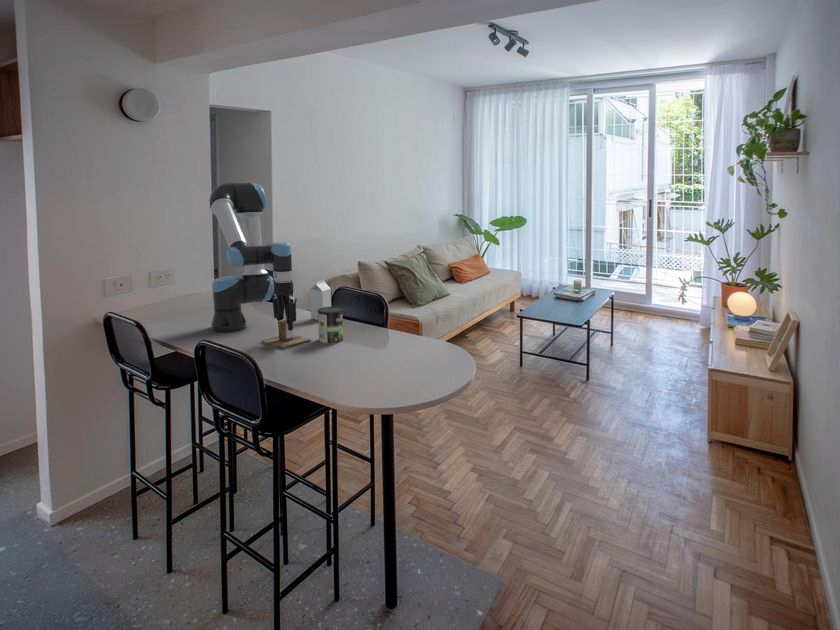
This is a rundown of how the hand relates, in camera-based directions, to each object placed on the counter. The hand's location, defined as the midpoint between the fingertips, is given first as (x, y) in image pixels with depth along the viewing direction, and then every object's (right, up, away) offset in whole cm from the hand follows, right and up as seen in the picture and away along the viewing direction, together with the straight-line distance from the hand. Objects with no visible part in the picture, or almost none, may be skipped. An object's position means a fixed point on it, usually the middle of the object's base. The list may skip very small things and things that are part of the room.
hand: (285, 336), depth 227 cm
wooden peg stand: (0, -2, +1) cm, 3 cm away
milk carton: (+7, +7, +41) cm, 42 cm away
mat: (0, -3, +1) cm, 3 cm away
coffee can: (+18, -3, +4) cm, 19 cm away
